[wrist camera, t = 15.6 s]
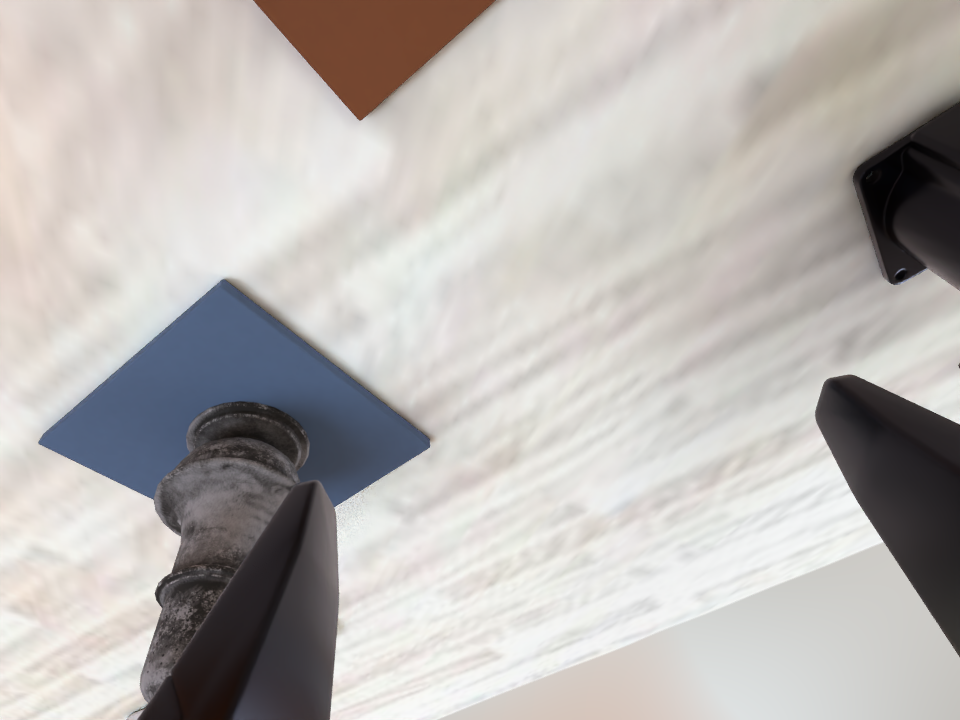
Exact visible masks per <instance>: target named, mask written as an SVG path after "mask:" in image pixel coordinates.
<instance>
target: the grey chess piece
mask: <svg viewBox="0 0 960 720" xmlns="http://www.w3.org/2000/svg"><path fill="white" fill-rule="evenodd" d="M186 442H187V448H188V450H189V452H190V453H189V454H188V455H187V456H186V457H185V458H184V459H183V460H182V461H181V462H180V463H179V464H178V465H177V466H176V468H175V469H174V470H173V471H171V472H170V473H168V474H167V475H166V476H165V477H164V478H163V479H162V481H161V482H160V483H159V484H158V486H157V489H156V492H155V496H154V504H155V510H156V512H157V514H158V515H159V517H160V518H161V520H162V521H163V523H164V524H165V525H166V526H167V527H169V528H170V529H171V530H172V531H173V532H174V533H176V534H177V535H179V536H181V545H180V548H179V551H178V554H177V557H176V560H175V563H174V567H173V570H172V573H171V574H169V575H167V576H165V577H164V578H163V579H162V580H161V581H160V582H159V583H158V586H157V589H156V591H155V596H156V600H157V602H158V603H159V604H160V606H161V607H162V611H161V614H160V617H159V620H158V624H157V627H156V630H155V633H154V636H153V639H152V642H151V645H150V648H149V652H148V655H147V658H146V661H145V664H144V667H143V670H142V673H141V678H140V689H141V692H142V694H143V697H144V699H145V700H146V701H147V702H148V703H149V702H150V700H151V699H152V697H153V696H154V694H155V693H156V691H157V690H158V688H159V687H160V685H161V684H162V682H163V681H164V679H165V678H166V676H168V675H171V674H170V671H171V669H172V667H173V666H174V664H175V663H176V661H177V660H178V658H179V657H180V655H181V654H182V652H183V651H184V649H185V648H186V646H187V645H188V643H189V642H190V640H191V639H192V637H193V636H194V634H195V633H196V631H197V630H198V628H199V627H200V625H201V624H202V622H203V621H204V619H205V618H206V616H207V615H208V613H209V612H210V610H211V609H212V607H213V606H214V604H215V603H216V601H217V600H218V598H219V597H220V595H221V594H222V592H223V591H224V589H225V588H226V586H227V585H228V583H229V582H230V580H231V579H232V577H233V576H234V574H235V573H236V571H237V570H238V568H239V567H240V565H241V564H242V562H243V561H244V559H245V558H246V556H247V554H248V553H249V551H250V550H251V548H252V547H253V545H254V544H255V542H256V541H257V539H258V538H259V536H260V535H261V533H262V532H263V530H264V529H265V527H266V526H267V524H268V523H269V521H270V520H271V518H272V517H273V515H274V514H275V512H276V511H277V509H278V508H279V506H280V505H281V503H282V502H283V500H284V499H285V497H286V496H287V494H288V493H289V491H290V490H291V488H292V487H293V486H294V485H295V484H297V483H300V479H299V477H298V474H297V471H298V470H299V469H300V468H301V467H302V466H303V465H304V464H305V462H306V460H307V458H308V455H309V446H310V442H309V439H308V436H307V433H306V431H305V430H304V429H303V427H302V426H301V425H300V423H299V422H297V421H296V420H295V419H294V418H292V417H291V416H290V415H289V414H287V413H285V412H283V411H281V410H279V409H277V408H275V407H272V406H268V405H264V404H260V403H255V402H242V401H239V402H229V403H222V404H219V405H216V406H213V407H210V408H208V409H206V410H205V411H203V412H202V413H200V414H198V415H197V416H196V418H195V419H194V420H193V421H192V422H191V424H190V426H189V429H188V432H187V435H186Z"/></svg>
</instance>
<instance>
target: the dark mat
mask: <svg viewBox="0 0 960 720" xmlns="http://www.w3.org/2000/svg"><path fill="white" fill-rule="evenodd" d="M253 1H254V2H255V3H256V4H257V5H258V6H259V7H260V9H261V10H262V11H263V12H264V13H265V14H266V15H267V16H268V18H269V19H270V20H271V21H272V22H273V23H274V24H275V26H276V27H277V28H278V29H279V30H280V31H281V32H282V34H283V35H284V36H285V37H286V38H287V39H288V40H289V41H290V43H291V44H292V45H293V46H294V47H295V48H296V49H297V51H298V52H299V53H300V54H301V55H302V56H303V57H304V58H305V60H306V61H307V62H308V63H309V64H310V65H311V66H312V68H313V69H314V70H315V71H316V72H317V73H318V74H319V75H320V77H321V78H322V79H323V80H324V81H325V82H326V83H327V85H328V86H329V87H330V88H331V89H332V90H333V91H334V92H335V94H336V95H337V96H338V97H339V98H340V99H341V100H342V102H343V103H344V104H345V105H346V106H347V107H348V108H349V110H350V111H351V112H352V113H353V114H354V115H355V116H356V117H357V119H358V120H362V119H363V118H364V117H366V116H367V115H368V114H369V113H370V112H371V111H372V110H373V109H374V108H376V107H377V106H378V105H379V104H380V103H381V102H382V101H383V100H385V99H386V98H387V97H388V96H389V95H390V94H391V93H392V92H394V91H395V90H396V89H397V88H398V87H399V86H400V85H401V84H402V83H404V82H405V81H406V80H407V79H408V78H409V77H410V76H411V75H413V74H414V73H415V72H416V71H417V70H418V69H419V68H420V67H422V66H423V65H424V64H425V63H426V62H427V61H428V60H429V59H430V58H432V57H433V56H434V55H435V54H436V53H437V52H438V51H439V50H441V49H442V48H443V47H444V46H445V45H446V44H447V43H448V42H450V41H451V40H452V39H453V38H454V37H455V36H456V35H457V34H458V33H460V32H461V31H462V30H463V29H464V28H465V27H466V26H467V25H469V24H470V23H471V22H472V21H473V20H474V19H475V18H476V17H478V16H479V15H480V14H481V13H482V12H483V11H484V10H485V9H486V8H488V7H489V6H490V5H491V4H492V3H493V2H494V1H495V0H253Z"/></svg>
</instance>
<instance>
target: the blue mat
mask: <svg viewBox="0 0 960 720" xmlns="http://www.w3.org/2000/svg"><path fill="white" fill-rule="evenodd" d="M239 401H242V402H255V403H260V404H264V405H268V406H272V407H275V408H277V409H279V410H281V411H283V412H285V413H287V414H289V415H290V416H291V417H292V418H294V419H295V420H296V421H297V422H299V423H300V425H301V426H302V427H303V429H304V430H305V431H306V433H307V436H308V439H309V442H310V446H309V455H308V458H307V460H306V462H305V464H304V465H303V466H302V467H301V468H300V469H299V470H298V471H297V474H298V477H299V479H300V482H305V481H310V480H318V481H320V482H321V484H322V486H323V487H324V489H325V491H326V493H327V495H328V497H329V499H330V501H331V502H332V504H333V506H334V507H335V506H337V505H339V504H340V503H342V502H343V501H345V500H347V499H348V498H350V497H351V496H353V495H355V494H356V493H358V492H359V491H361V490H363V489H364V488H366V487H367V486H369V485H371V484H372V483H374V482H375V481H377V480H379V479H380V478H382V477H383V476H385V475H387V474H388V473H390V472H391V471H393V470H395V469H396V468H398V467H399V466H401V465H403V464H404V463H406V462H407V461H409V460H411V459H412V458H414V457H415V456H417V455H419V454H420V453H422V452H423V451H425V450H427V449H428V448H430V439H429V438H428V437H427V436H425V435H424V434H423V433H421V432H420V431H419V430H418V429H416V428H415V427H414V426H412V425H411V424H410V423H409V422H407V421H406V420H405V419H403V418H402V417H401V416H400V415H398V414H397V413H396V412H394V411H393V410H392V409H391V408H389V407H388V406H387V405H385V404H384V403H383V402H382V401H380V400H379V399H378V398H376V397H375V396H374V395H372V394H371V393H370V392H369V391H367V390H366V389H365V388H363V387H362V386H361V385H360V384H358V383H357V382H356V381H354V380H353V379H352V378H351V377H349V376H348V375H347V374H345V373H344V372H343V371H342V370H340V369H339V368H338V367H336V366H335V365H334V364H333V363H331V362H330V361H329V360H327V359H326V358H325V357H324V356H322V355H321V354H320V353H318V352H317V351H316V350H315V349H313V348H312V347H311V346H309V345H308V344H307V343H306V342H304V341H303V340H302V339H300V338H299V337H298V336H297V335H295V334H294V333H293V332H291V331H290V330H289V329H288V328H286V327H285V326H284V325H282V324H281V323H280V322H279V321H277V320H276V319H275V318H273V317H272V316H271V315H270V314H268V313H267V312H266V311H264V310H263V309H262V308H261V307H259V306H258V305H257V304H255V303H254V302H253V301H252V300H250V299H249V298H248V297H246V296H245V295H244V294H243V293H241V292H240V291H239V290H237V289H236V288H235V287H234V286H232V285H231V284H230V283H228V282H227V281H226V280H224V279H223V280H221V281H220V282H219V283H218V284H217V285H216V286H214V287H213V288H212V289H211V290H210V291H209V292H207V293H206V294H205V295H204V296H203V297H202V298H200V299H199V300H198V301H197V302H196V303H195V304H194V305H192V306H191V307H190V308H189V309H188V310H187V311H185V312H184V313H183V314H182V315H181V316H180V317H178V318H177V319H176V320H175V321H174V322H173V323H172V324H170V325H169V326H168V327H167V328H166V329H165V330H163V331H162V332H161V333H160V334H159V335H158V336H156V337H155V338H154V339H153V340H152V341H151V342H150V343H148V344H147V345H146V346H145V347H144V348H143V349H141V350H140V351H139V352H138V353H137V354H136V355H135V356H133V357H132V358H131V359H130V360H129V361H128V362H126V363H125V364H124V365H123V366H122V367H121V368H119V369H118V370H117V371H116V372H115V373H114V374H113V375H111V376H110V377H109V378H108V379H107V380H106V381H104V382H103V383H102V384H101V385H100V386H99V387H97V388H96V389H95V390H94V391H93V392H92V393H91V394H89V395H88V396H87V397H86V398H85V399H84V400H82V401H81V402H80V403H79V404H78V405H77V406H76V407H74V408H73V409H72V410H71V411H70V412H69V413H67V414H66V415H65V416H64V417H63V418H62V419H60V420H59V421H58V422H57V423H56V424H55V425H54V426H52V427H51V428H50V429H49V430H48V431H47V432H45V433H44V434H43V436H42V437H41V439H40V440H39V442H38V443H39V444H40V445H42V446H44V447H46V448H48V449H50V450H52V451H54V452H57V453H59V454H61V455H63V456H65V457H67V458H69V459H71V460H73V461H75V462H77V463H79V464H81V465H83V466H85V467H87V468H89V469H92V470H94V471H96V472H98V473H100V474H102V475H104V476H106V477H108V478H110V479H112V480H114V481H116V482H118V483H120V484H122V485H124V486H127V487H129V488H131V489H133V490H135V491H137V492H139V493H141V494H143V495H145V496H147V497H149V498H151V499H153V500H154V496H155V492H156V489H157V486H158V484H159V483H160V482H161V481H162V479H163V478H164V477H165V476H166V475H167V474H168V473H170V472H171V471H173V470H174V469H175V468H176V466H177V465H178V464H179V463H180V462H181V461H182V460H183V459H184V458H185V457H186V456H187V455H188V454H189V453H190V452H189V450H188V448H187V442H186V435H187V432H188V429H189V426H190V424H191V422H192V421H193V420H194V419H195V418H196V416H197V415H198V414H200V413H202V412H203V411H205V410H206V409H208V408H210V407H213V406H216V405H219V404H222V403H229V402H239Z"/></svg>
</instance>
